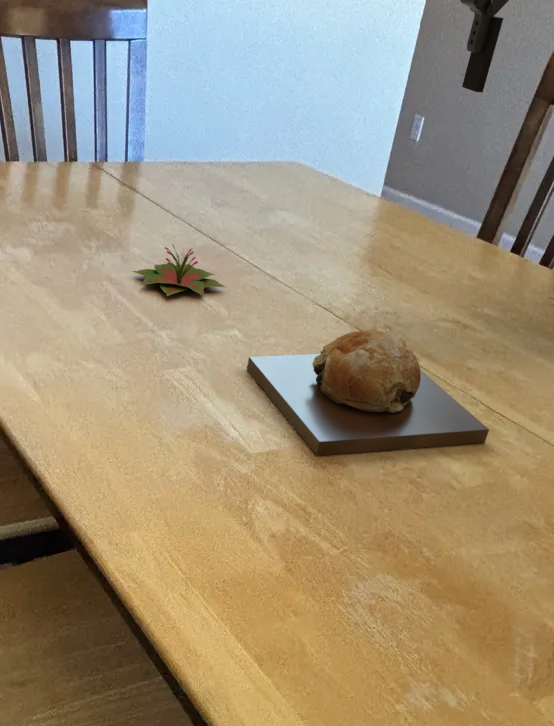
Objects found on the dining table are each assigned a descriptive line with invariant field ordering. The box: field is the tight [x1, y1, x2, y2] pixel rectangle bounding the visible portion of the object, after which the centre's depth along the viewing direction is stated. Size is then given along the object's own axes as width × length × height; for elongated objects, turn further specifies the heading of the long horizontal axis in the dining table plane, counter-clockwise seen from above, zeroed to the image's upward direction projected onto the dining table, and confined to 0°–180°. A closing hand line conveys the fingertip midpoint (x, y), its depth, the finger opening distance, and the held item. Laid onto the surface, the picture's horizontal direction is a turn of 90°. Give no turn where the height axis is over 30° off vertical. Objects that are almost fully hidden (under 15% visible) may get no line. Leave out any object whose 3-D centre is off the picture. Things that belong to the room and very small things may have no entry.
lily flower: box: [131, 244, 226, 297], centre depth 111 cm, size 12×12×5 cm
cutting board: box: [246, 353, 490, 457], centre depth 89 cm, size 18×18×2 cm
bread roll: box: [312, 329, 422, 414], centre depth 87 cm, size 10×10×8 cm
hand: (528, 92), depth 91 cm, fingers open, 13 cm apart
